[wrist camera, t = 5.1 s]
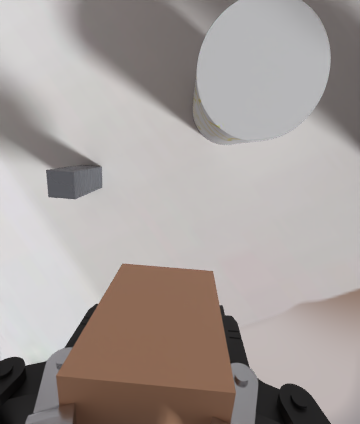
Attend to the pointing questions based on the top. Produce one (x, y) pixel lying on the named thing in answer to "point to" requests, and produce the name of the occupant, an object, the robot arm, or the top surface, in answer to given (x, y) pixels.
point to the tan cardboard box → (151, 352)
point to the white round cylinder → (260, 71)
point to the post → (73, 181)
